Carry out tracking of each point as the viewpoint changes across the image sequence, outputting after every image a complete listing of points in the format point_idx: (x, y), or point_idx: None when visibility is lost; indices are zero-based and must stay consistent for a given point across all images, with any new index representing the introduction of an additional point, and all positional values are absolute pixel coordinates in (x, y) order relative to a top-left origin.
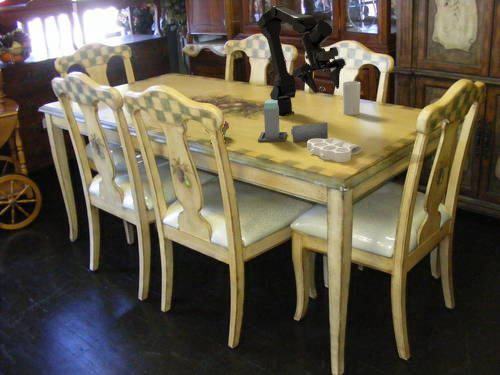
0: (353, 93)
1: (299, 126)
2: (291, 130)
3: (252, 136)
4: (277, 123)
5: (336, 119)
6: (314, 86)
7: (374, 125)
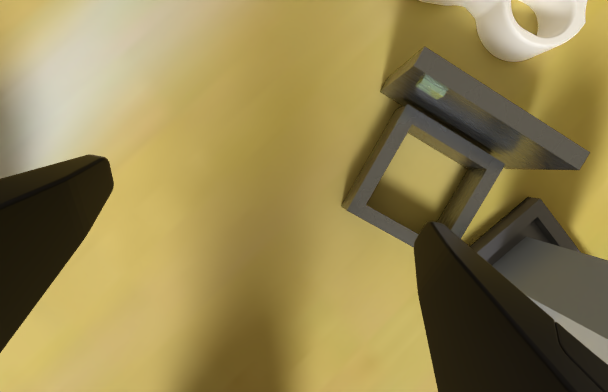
0: None
1: (560, 134)
2: None
3: None
4: (603, 259)
5: (114, 278)
6: (493, 271)
7: (61, 57)
